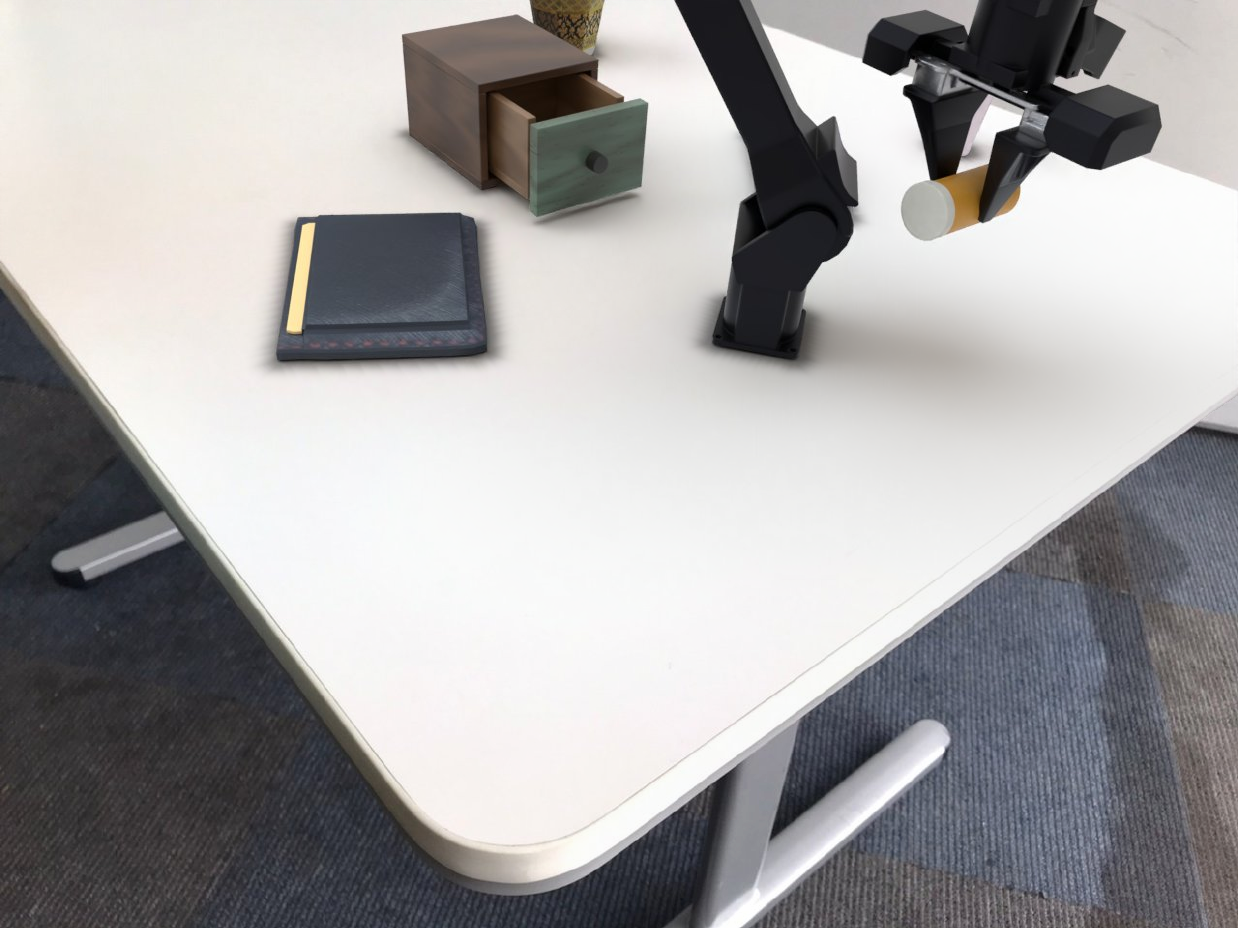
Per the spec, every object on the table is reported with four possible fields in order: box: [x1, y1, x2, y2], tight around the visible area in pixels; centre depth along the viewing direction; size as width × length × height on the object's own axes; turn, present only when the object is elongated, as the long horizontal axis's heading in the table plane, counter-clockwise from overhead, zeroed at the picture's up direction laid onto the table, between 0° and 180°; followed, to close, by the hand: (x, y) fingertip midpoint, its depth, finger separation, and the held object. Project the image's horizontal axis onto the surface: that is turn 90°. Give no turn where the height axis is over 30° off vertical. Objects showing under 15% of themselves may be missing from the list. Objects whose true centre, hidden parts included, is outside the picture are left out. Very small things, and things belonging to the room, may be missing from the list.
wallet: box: [275, 212, 488, 361], centre depth 79 cm, size 20×2×15 cm
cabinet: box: [401, 14, 599, 191], centre depth 96 cm, size 14×13×10 cm
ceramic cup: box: [529, 0, 606, 56], centre depth 117 cm, size 13×10×10 cm
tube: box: [900, 163, 1021, 242], centre depth 68 cm, size 8×4×4 cm, turn 126°
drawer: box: [486, 72, 649, 218], centre depth 90 cm, size 14×11×8 cm
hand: (962, 209), depth 69 cm, fingers closed on tube, 3 cm apart
